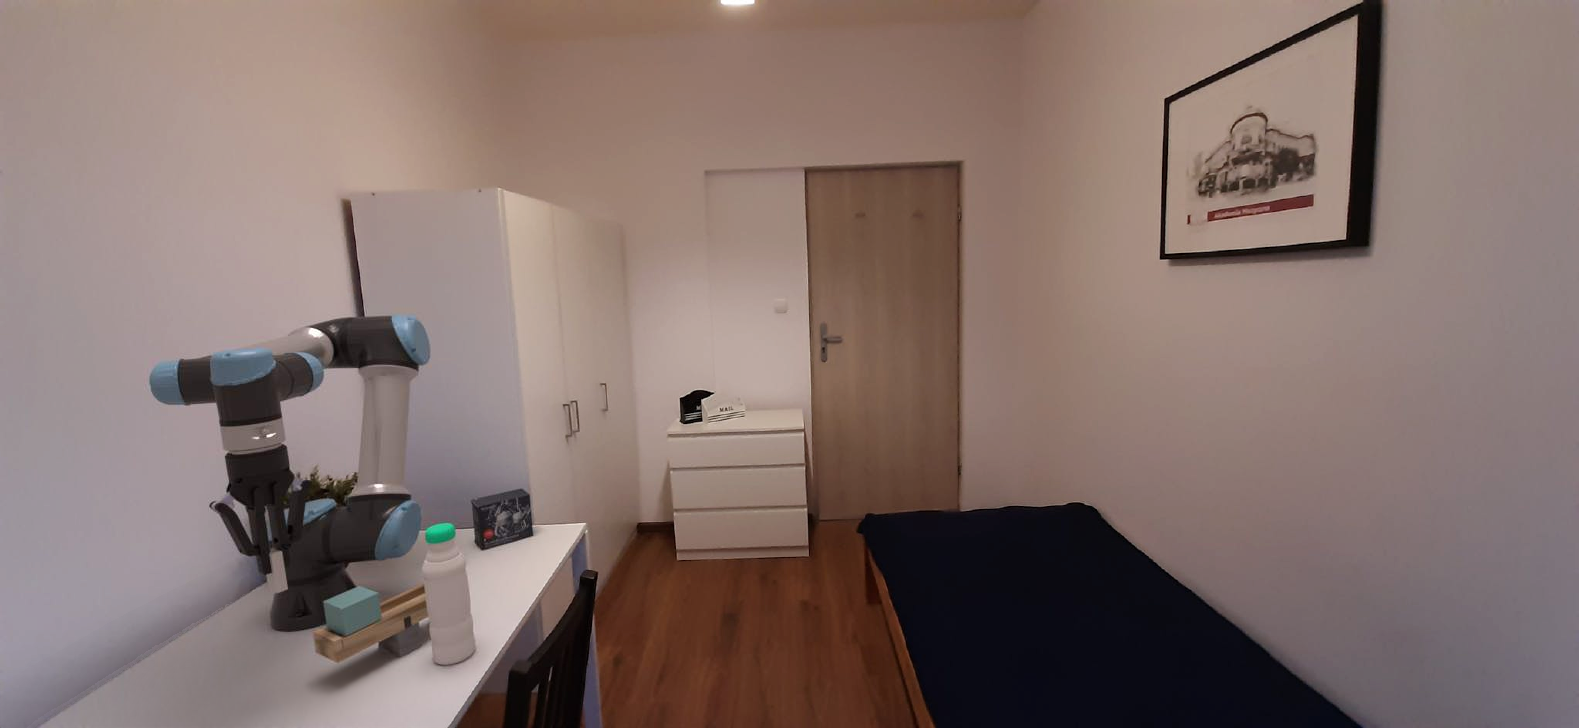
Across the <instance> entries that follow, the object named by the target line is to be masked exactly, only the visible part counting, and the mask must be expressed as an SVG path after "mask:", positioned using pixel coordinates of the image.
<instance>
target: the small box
mask: <svg viewBox="0 0 1579 728" xmlns="http://www.w3.org/2000/svg"><path fill="white" fill-rule="evenodd" d="M531 505H532V504H531V496H530V493H528V492H527V491H526V490H525V489H524V488H516V489H512V490H508V491H504V492H499V493H495V494H491V495H486V496H482V497H477V498H472V499H471V508H472V509H471V510H472V520H473V531H474V532H473V533H474V534H473V535H474V543H475V544H476V545H477V546H478V547H479V549H480V550H481V551H485V550H490V549H491V548H495V547H499V546H502V545H506V544H510V543H513V542H517V541H520V540H523V539H528V538H532V537H534V531H533V521H532V520H533V518H532V507H531Z"/></svg>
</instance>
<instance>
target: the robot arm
mask: <svg viewBox="0 0 1579 728" xmlns="http://www.w3.org/2000/svg"><path fill="white" fill-rule="evenodd" d="M430 358H431V344H430V339H429V336H428V333H427V331H426V328H425V326H424V325H423V323H422V322H421V321H420V319H418V318H417V317H415V316H413V315H398V314H392V315H379V316H377V315H375V316H374V315H373V316H354V317H353V316H348V317H347V316H346V317H340V318H339V317H338V318H333V319H330V320H325V321H321V322H317V323H314V324H310V325H306V326H304V327H299V328H296V329H294V330H292V331H291V332H289V333H288V334H287V336H284V337H279V338H276V339H275V338H274V339H271V340H267V341H263V342H259V343H256V344H251V345H248V346H247V345H245V346H243V347H239V348H235V349H229V350H228V349H227V350H226V349H225V350H220V351H217V352H214V353H213V354H212V355H210V354H209V355H206V356H202V357H196V358H191V359H189V358H188V359H184V358H178V359H174V360H165V361H161V362H158V364H156V365H155V366H154V367H153V368H152V370H151V372H150V375H149V379H148V380H149V381H148V382H149V386H150V392H151V394H152V395H153V397H154V398H155V399H156V400H157V401H158V402H160V403H162V404H163V405H168V406H182V405H183V406H187V407H188V406H191V405H202V404H216V409H217V414H218V422H219V429H220V436H221V443H222V450H224V451H225V452H227V453H226V454H225V455H224V460H225V466H226V472H227V474H226V475H227V478H228V484H227V486H226V489H225V491H226V493H225V494H224V495H223V496H222V497H220V499H218V500H213V501H211V502H210V503H209V505H208V507H209V508H210V509H211V510H212V511H213V512H215V513H216V514H218V515H219V517H220V518H221V520H222V522H223V524H224V526H225V528H226V530H227V531H228V533H229V535H230V537H231V539H232V541H233V542H234V545H235V546H236V548H237V551H238V553H240V554H241V555H244V556H247V557H249V558H250V557H253V556H254V557H255V558H256V563H257V569H258V573H259V574H261V575H263V576H266V581H267V586H268V591H271V592H273V593H274V595H273V598H272V603H271V608H270V612H269V618H270V619H269V620H270V625H271V627H272V628H273V629H274V630H278V631H282V632H284V631H285V632H287V631H290V632H291V631H298V630H299V631H300V630H305V629H310V628H314V627H318V626H321V625H323V624H327V623H326V616H325V610H324V603H323V601H325V600H328V599H330V598H332V597H335V596H337V595H340V594H342V593H344V592H347V591H349V590H351V589H354V588H356V587H357V585H356V583H355V582H354V580H353V579H352V577H351V576H350V574H349V572H348V571H347V569H346V566H345V564H352V563H361V562H364V563H365V562H372V561H373V562H374V561H386V560H390V559H396V558H401V557H404V556H405V555H407V554H408V553H409V552H410V551H411V550H412V549H413V548H414V545H415V543H416V541H417V540H418V537H419V533H420V532H421V531H420V530H421V525H422V513H421V509H422V508H421V506H420V504H419V503H418V502H417V501H414V500H412V493H411V492H410V491H409V489H407V488H406V487H405V477H406V476H405V474H406V458H407V444H408V443H407V442H408V441H407V440H408V426H409V410H410V394H411V393H410V390H411V382H412V381H413V380H414V379H415V378H417V377H418V376H419V370H420V369H419V368H420V367H421V366H422V367H423V366H424V365H426V364H428V363H429V360H430ZM325 369H326V370H328V369H330V370H331V369H357V372H358V374H359V375H360V376H361V377H362V378H363V379H364V380H365V382H364V383H365V384H364V395H363V408H362V417H361V418H362V420H361V430H360V431H361V432H360V433H361V434H360V442H359V443H360V445H359V458H358V470H357V480H356V488H355V489H354V490H353V491H352V492H351V493H350V494H348V495H347V497H346V498H347V499H346V506H337V505H338V503H337V502H336V500H335V499H333V498H321V499H320V498H319V499H315V500H311V501H307V495H308V493H309V491H310V490H311V487H312V486H313V481H312V480H310V479H307V478H299V477H295V474H294V472H292V470H291V469H290V458H289V452H288V446H287V445H285V444H284V442H285V441H286V440H287V439H286V433H285V427H284V425H285V424H284V419H283V415H282V414H283V413H282V406H281V402H284V401H287V400H291V399H295V398H298V397H303V396H307V394H309V393H312V392H313V391H316V389H318V388H319V387H320V386H321V385H322V384H323V381H324V377H325ZM289 489H290V490H291V492H290V498H289V503H288V504H289V506H288V508H285V506H286V505H285V500H284V499H285V498H284V497H286V495H287V493H288V491H289ZM234 500H235V501H237V503H239V504H241V505H243V506H244V507H245V512H246V513H247V515H248V524H249V528H250V536H251V539H250V536H249V534H248V533H247V531H246V529H245V527H244V525H243V523H242V521H241V519H240V517H239V516H238V514H237V512H236V511H235V510H234V509H235V505H236V504H235V503H234ZM266 509H267V511H266ZM266 512H267V515H268V519H269V520H268V522H266V521H267V520H266V515H265V514H266Z"/></svg>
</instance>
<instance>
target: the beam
mask: <svg viewBox="0 0 1579 728" xmlns="http://www.w3.org/2000/svg"><path fill="white" fill-rule="evenodd" d="M380 608H381V616H382V619H381V620H379V621H376V622H374V623H372V624H370V625H368V626H366V627H364V628H362V629H360V630H358V631H356V632H354V633H352V634H349V635H347V636H343V637H340V636H337V635H335V633H334V631H333V630H331V629H329V628H327V627H325V628H321V627H319V628H317V629H315V630H312V636H313V641H314V647H315V648H314V649H315V653H316V654H318V655H320V656H321V657H325V658H327V659H328V660H331V661H333V662H334V663H337V664H339V663H341V662H342V661H345V660H347V659H348V658H351V657H353V656H354V655H356V654H359V653H361V652H362V651H364V650H366V649H368V648H371V647H373V646H375V645H376V644H378V649H380V650H382V651H383V652H387V653H388V654H391V655H393V656H396V657H398V658H400V659H401V658H403V657H405V656H408V655H409V654H410V653H412V652H414V651H416V650H418V649H420V648H422V647H423V645H422V637H421V636H422V635H421V629H420V628H421V627H420V622H422V621H424V620H425V619H427V618H429V617H428V612H427V606H426V598H425V587H424V582H423V583H421V584H419V585H417V586H415V587H412V588H411V589H408V590H406V591H404V592H402V593H399V594H398V595H395V596H393V597H391V598H389V599H387V600H384V601H382V602H380Z"/></svg>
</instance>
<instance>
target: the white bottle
mask: <svg viewBox="0 0 1579 728" xmlns="http://www.w3.org/2000/svg"><path fill="white" fill-rule="evenodd" d="M456 535H457V533H456V527H455V526H454V524H452V523H450V522H449V523H448V522H446V523H445V522H444V523H438V524H434V525H432V526H430V527H428V528H426V530H425V532H424V536H425V538H424V539H425V541H426V544H427V545H428V546H429V549H428V551H427V553H426V556H425V559H424V561H423V564H422V567H421V573H422V576H423V579H424V581H423V583H424V587H425V598H426V606H427V612H428V617H427V618H428V620H429V636H430V640H431V644H432V645H431V652H432V653H431V654H432V660H433V661H434V662H435V663H436V664H438V665H442V666H449V665H455V664H459V663H461V662H463V661H464V660H467V659H468V658H469V657H470V656H472V654H473V653H474V652H475V650H476V637H475V633H474V620H473V619H474V618H473V616H472V613H471V594H470V585H469V584H470V583H469V578H468V572H467V569H466V567H467V560H466V557H465V555H464V554H463V553H462V551H461V550H460V548H459V547H458V546H457V544H455V543H454V540H456Z"/></svg>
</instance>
